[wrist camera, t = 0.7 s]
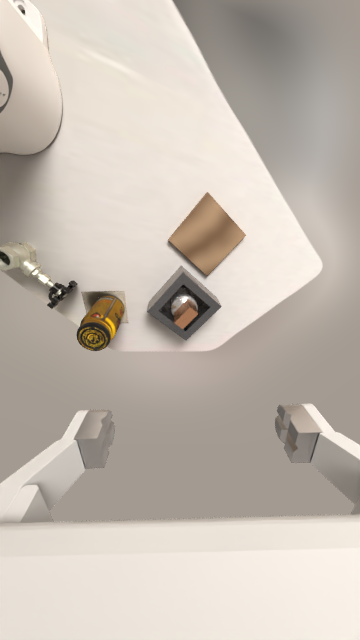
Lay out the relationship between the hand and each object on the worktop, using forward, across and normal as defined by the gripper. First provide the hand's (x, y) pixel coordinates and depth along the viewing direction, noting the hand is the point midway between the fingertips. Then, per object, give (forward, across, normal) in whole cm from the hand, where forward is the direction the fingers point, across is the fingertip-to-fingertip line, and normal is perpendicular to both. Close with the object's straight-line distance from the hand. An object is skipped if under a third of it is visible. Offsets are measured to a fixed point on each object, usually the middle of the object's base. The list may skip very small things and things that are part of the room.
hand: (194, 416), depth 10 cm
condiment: (+35, +16, +6) cm, 39 cm away
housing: (+35, 0, +4) cm, 35 cm away
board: (+34, -5, -8) cm, 35 cm away
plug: (+35, 0, +4) cm, 35 cm away
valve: (+34, +26, -3) cm, 43 cm away
